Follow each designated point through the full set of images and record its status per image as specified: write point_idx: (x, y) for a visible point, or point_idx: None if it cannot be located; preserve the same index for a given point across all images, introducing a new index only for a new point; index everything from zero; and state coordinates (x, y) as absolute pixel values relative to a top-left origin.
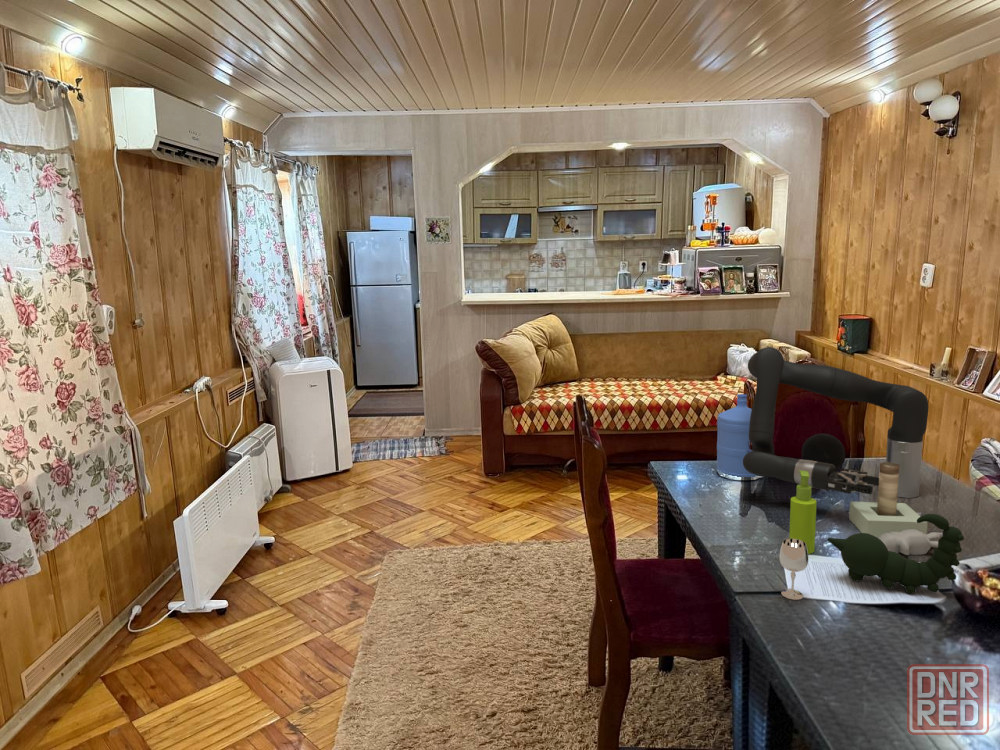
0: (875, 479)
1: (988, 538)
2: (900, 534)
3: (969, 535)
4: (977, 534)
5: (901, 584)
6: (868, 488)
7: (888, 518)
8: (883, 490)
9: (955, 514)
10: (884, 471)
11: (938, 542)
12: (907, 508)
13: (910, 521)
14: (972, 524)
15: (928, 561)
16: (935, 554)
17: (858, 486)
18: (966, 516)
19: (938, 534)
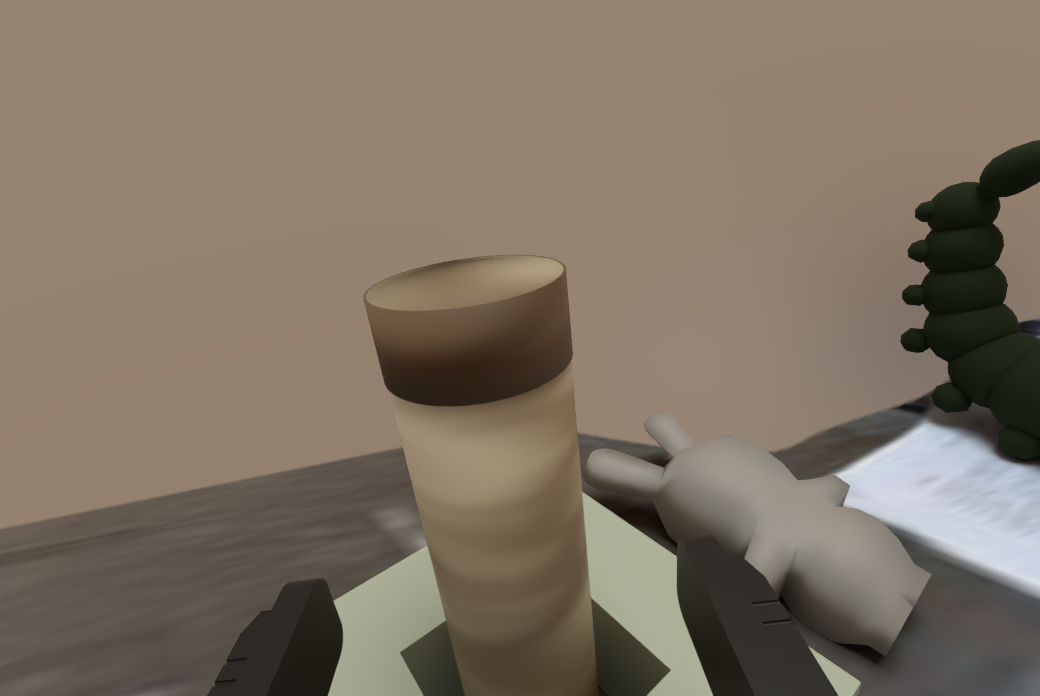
0: (301, 656)
1: (393, 453)
2: (782, 510)
3: (393, 484)
4: (369, 475)
5: None
6: (748, 563)
7: (663, 599)
8: (583, 515)
9: (131, 577)
10: (568, 335)
11: (1000, 247)
12: (380, 592)
13: (604, 511)
14: (260, 508)
15: (1016, 321)
16: (1007, 285)
17: (826, 677)
18: (156, 544)
19: (600, 452)
